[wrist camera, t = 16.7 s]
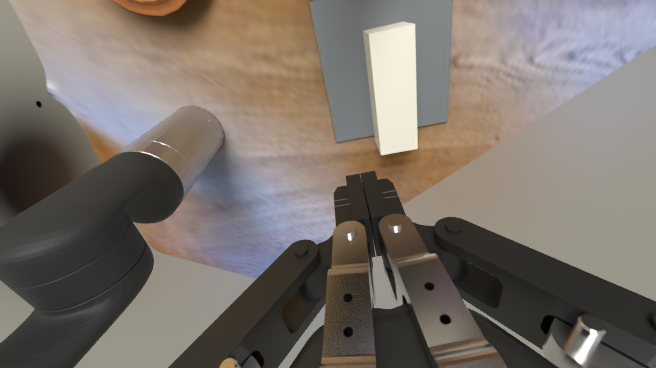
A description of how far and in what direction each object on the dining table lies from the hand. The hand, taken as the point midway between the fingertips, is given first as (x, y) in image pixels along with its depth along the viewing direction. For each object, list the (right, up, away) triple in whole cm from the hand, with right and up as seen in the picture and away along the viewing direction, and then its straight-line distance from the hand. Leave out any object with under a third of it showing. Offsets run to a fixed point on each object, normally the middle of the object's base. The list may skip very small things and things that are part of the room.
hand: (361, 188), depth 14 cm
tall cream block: (+10, +7, +33) cm, 35 cm away
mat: (+7, +19, +30) cm, 36 cm away
